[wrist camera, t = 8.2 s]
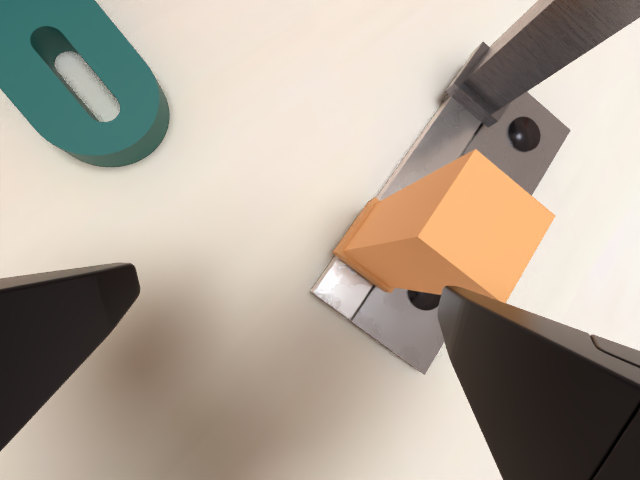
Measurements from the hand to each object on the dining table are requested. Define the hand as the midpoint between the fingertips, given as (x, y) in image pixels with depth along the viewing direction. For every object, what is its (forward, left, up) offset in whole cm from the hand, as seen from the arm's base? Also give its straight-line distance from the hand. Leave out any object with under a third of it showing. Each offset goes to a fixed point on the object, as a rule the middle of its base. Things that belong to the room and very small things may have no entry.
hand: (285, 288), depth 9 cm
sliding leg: (+3, -6, -10) cm, 12 cm away
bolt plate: (+6, -13, -11) cm, 18 cm away
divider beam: (+9, -9, -11) cm, 17 cm away
